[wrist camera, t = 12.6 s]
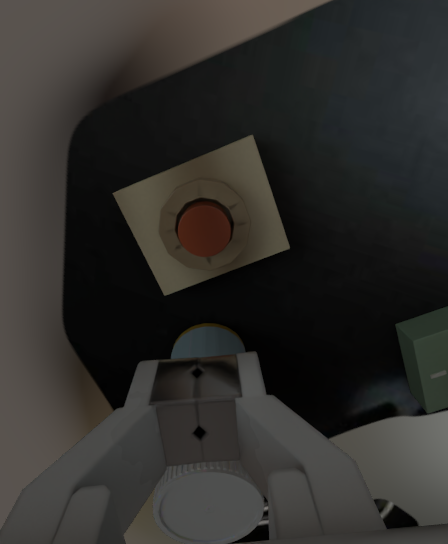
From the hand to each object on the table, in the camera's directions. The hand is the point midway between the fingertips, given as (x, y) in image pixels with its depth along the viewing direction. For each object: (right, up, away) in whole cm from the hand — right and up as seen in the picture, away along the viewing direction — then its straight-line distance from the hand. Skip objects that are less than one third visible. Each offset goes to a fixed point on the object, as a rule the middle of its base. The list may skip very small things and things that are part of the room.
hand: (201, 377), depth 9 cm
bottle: (-1, -5, +23) cm, 24 cm away
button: (-1, +6, +15) cm, 16 cm away
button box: (-1, +7, +19) cm, 20 cm away
